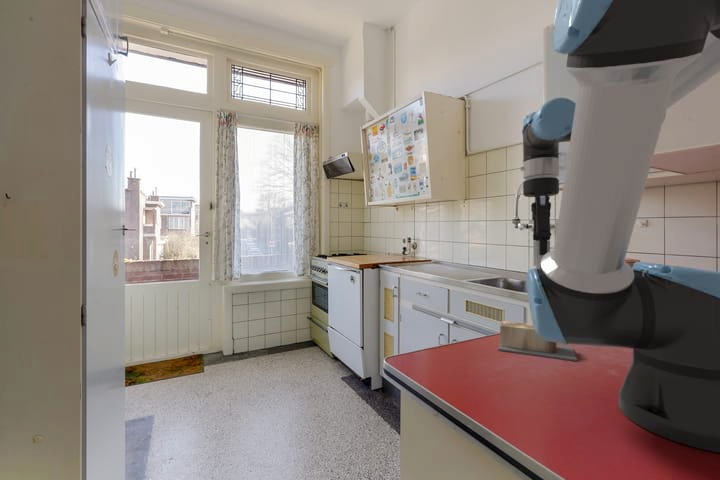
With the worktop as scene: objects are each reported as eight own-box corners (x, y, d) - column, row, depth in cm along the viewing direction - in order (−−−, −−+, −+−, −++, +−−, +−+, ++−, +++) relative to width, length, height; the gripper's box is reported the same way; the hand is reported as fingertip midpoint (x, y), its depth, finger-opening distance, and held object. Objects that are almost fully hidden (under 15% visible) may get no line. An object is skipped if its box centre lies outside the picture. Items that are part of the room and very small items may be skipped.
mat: (576, 361, 73) (576, 359, 73) (498, 350, 80) (498, 348, 80) (572, 348, 81) (572, 346, 81) (500, 339, 88) (500, 338, 88)
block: (501, 321, 86) (554, 326, 81) (501, 340, 87) (554, 346, 81) (500, 325, 82) (556, 331, 77) (500, 345, 82) (556, 353, 77)
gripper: (522, 187, 92) (522, 264, 92) (523, 170, 70) (524, 271, 70) (553, 185, 89) (554, 265, 89) (565, 166, 66) (566, 272, 66)
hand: (541, 268), depth 79 cm, fingers open, 13 cm apart
